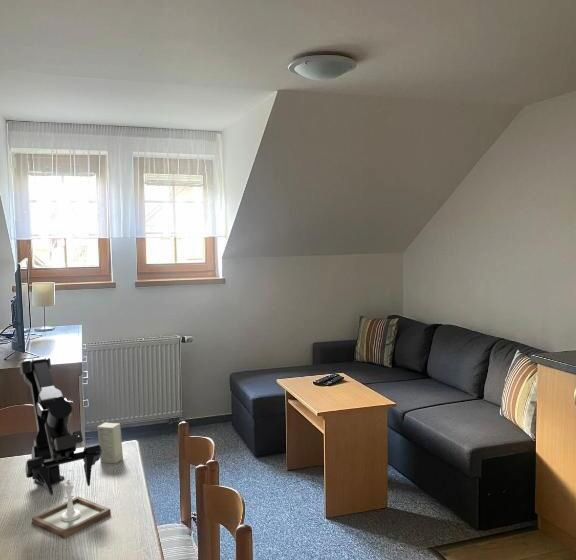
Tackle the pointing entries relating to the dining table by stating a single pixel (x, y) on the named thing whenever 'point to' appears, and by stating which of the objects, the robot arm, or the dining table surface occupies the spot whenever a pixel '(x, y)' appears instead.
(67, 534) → the walnut tray
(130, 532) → the dining table surface
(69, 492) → the chess piece
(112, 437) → the skincare box
